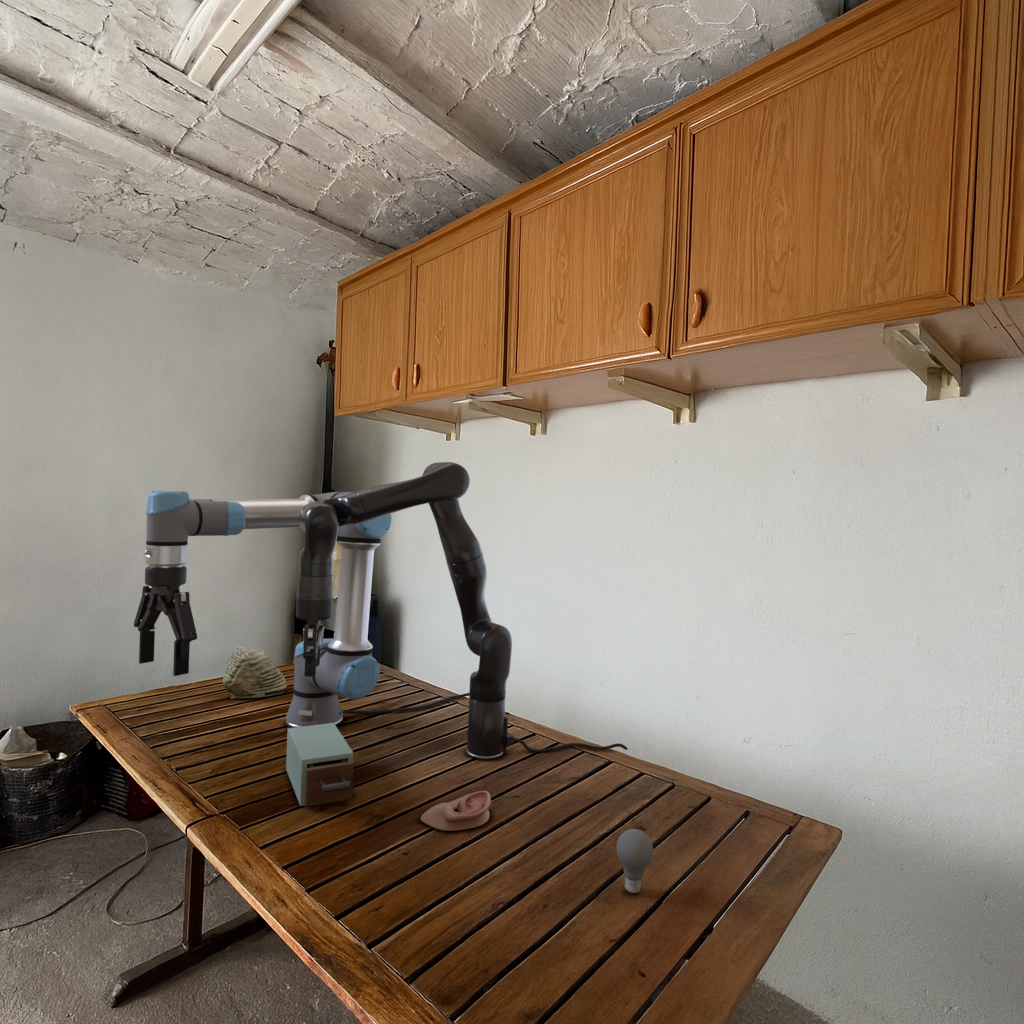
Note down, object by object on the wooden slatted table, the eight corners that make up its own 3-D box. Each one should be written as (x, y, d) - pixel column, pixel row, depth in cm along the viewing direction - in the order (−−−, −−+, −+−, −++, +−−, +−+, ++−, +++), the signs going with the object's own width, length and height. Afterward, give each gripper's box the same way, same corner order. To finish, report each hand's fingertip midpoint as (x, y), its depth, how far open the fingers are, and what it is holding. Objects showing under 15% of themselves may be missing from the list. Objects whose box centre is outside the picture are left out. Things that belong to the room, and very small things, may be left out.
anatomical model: (415, 806, 123) (434, 781, 134) (414, 826, 123) (433, 799, 134) (481, 816, 120) (495, 789, 132) (480, 836, 120) (494, 808, 132)
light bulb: (610, 879, 108) (613, 822, 108) (644, 879, 109) (647, 822, 109) (619, 902, 102) (622, 840, 102) (655, 901, 103) (658, 840, 103)
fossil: (218, 695, 195) (220, 647, 195) (278, 685, 208) (279, 640, 207) (228, 703, 189) (230, 653, 188) (289, 692, 201) (290, 645, 201)
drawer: (359, 810, 127) (360, 773, 126) (311, 820, 122) (312, 781, 122) (333, 765, 147) (334, 733, 147) (291, 771, 143) (293, 738, 143)
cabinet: (351, 797, 134) (353, 752, 134) (300, 806, 129) (301, 760, 129) (332, 762, 151) (333, 722, 151) (285, 769, 146) (287, 728, 146)
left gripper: (117, 561, 134) (114, 660, 134) (180, 572, 120) (177, 684, 120) (153, 559, 140) (150, 654, 141) (218, 570, 126) (214, 675, 127)
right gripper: (330, 601, 129) (327, 680, 130) (335, 590, 143) (332, 662, 144) (292, 600, 128) (289, 680, 128) (301, 590, 142) (298, 662, 142)
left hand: (163, 668), depth 131 cm, fingers open, 13 cm apart
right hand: (312, 670), depth 136 cm, fingers open, 8 cm apart
